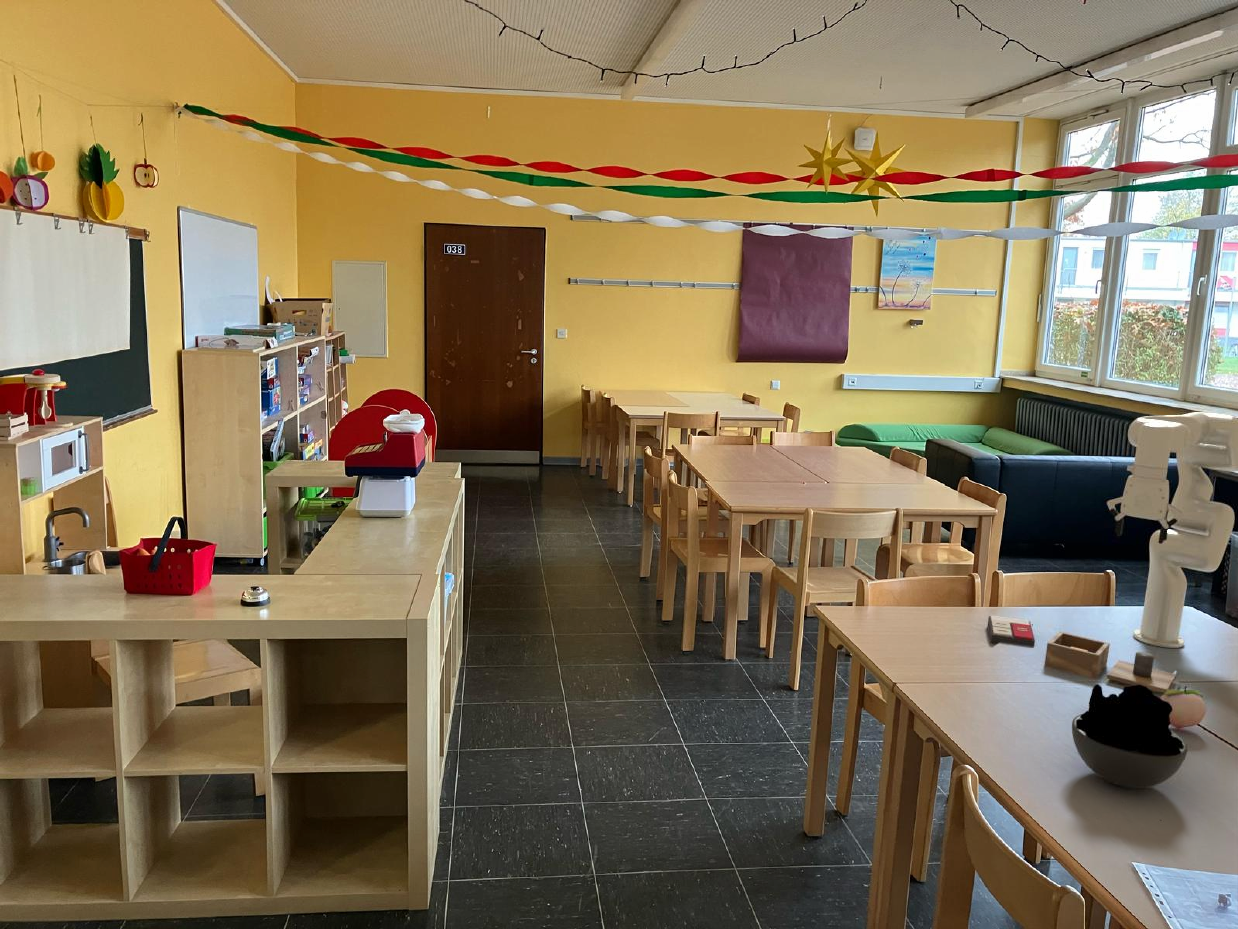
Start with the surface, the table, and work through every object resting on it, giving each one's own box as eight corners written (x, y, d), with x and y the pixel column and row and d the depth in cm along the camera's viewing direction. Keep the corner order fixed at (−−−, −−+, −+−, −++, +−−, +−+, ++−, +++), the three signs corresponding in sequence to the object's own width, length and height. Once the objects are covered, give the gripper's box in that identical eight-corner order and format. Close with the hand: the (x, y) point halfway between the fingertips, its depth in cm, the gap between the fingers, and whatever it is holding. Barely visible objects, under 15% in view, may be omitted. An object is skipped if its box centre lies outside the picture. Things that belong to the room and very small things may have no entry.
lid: (1117, 667, 253) (1121, 641, 252) (1175, 682, 246) (1179, 655, 244) (1106, 682, 243) (1110, 654, 242) (1165, 697, 235) (1170, 669, 234)
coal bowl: (1191, 783, 195) (1206, 692, 192) (1164, 820, 180) (1180, 722, 177) (1084, 748, 208) (1096, 662, 205) (1051, 780, 193) (1063, 688, 190)
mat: (1113, 669, 255) (1114, 665, 255) (1179, 686, 246) (1180, 682, 246) (1100, 686, 243) (1100, 682, 243) (1168, 704, 234) (1169, 700, 234)
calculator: (991, 632, 269) (988, 613, 283) (989, 647, 270) (987, 627, 284) (1035, 638, 265) (1030, 618, 280) (1033, 653, 266) (1028, 633, 280)
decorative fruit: (1177, 739, 215) (1184, 695, 213) (1148, 723, 223) (1155, 680, 221) (1212, 736, 218) (1219, 693, 216) (1182, 720, 225) (1189, 678, 223)
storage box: (1056, 657, 262) (1059, 631, 260) (1105, 669, 255) (1109, 643, 253) (1043, 669, 252) (1047, 643, 251) (1094, 682, 245) (1098, 655, 244)
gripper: (1109, 469, 253) (1099, 535, 256) (1186, 480, 243) (1175, 548, 246) (1115, 466, 259) (1106, 530, 262) (1191, 476, 249) (1180, 543, 252)
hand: (1139, 539), depth 254 cm, fingers open, 9 cm apart
